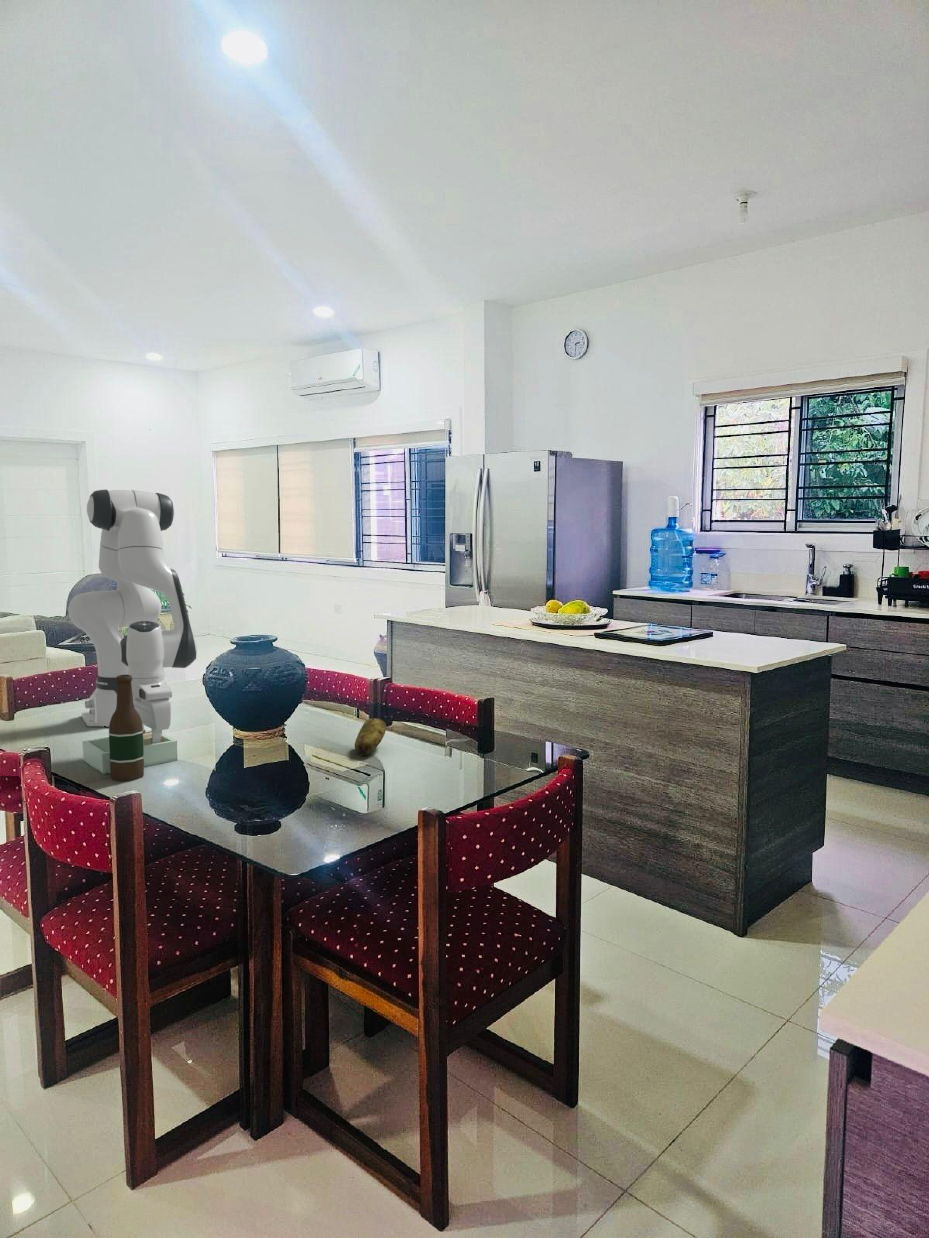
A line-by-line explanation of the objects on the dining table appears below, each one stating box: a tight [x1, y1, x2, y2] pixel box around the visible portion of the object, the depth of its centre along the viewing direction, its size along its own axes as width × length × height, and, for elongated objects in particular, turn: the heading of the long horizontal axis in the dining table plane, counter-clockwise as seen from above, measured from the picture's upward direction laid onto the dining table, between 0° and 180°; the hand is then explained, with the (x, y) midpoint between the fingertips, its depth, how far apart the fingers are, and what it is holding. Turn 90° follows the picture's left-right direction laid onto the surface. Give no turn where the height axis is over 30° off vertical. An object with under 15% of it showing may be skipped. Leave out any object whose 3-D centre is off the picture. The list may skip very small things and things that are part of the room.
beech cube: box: [143, 732, 162, 746], centre depth 205 cm, size 5×5×5 cm
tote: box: [82, 729, 178, 775], centre depth 202 cm, size 14×18×5 cm
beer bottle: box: [108, 675, 145, 782], centre depth 189 cm, size 8×8×24 cm
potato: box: [354, 717, 387, 756], centre depth 214 cm, size 8×13×8 cm, turn 150°
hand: (148, 740), depth 205 cm, fingers open, 8 cm apart
